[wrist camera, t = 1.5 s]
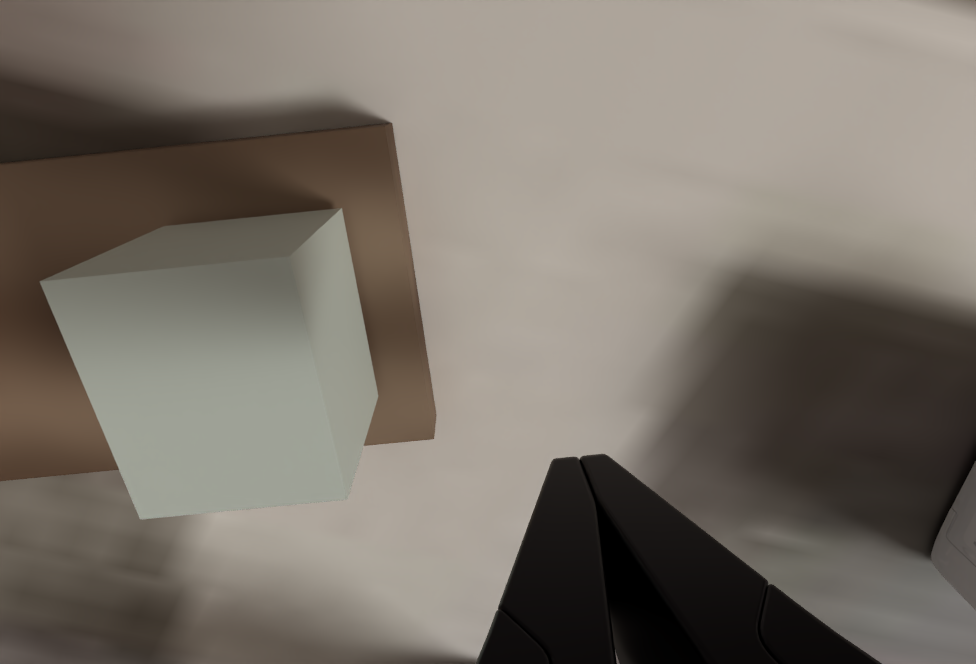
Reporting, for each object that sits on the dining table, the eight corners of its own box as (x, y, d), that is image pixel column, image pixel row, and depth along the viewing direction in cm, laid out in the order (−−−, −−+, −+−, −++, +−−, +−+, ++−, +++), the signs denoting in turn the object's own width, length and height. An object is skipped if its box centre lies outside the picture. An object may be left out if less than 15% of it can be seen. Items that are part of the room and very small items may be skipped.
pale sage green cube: (378, 395, 18) (347, 499, 14) (223, 411, 18) (140, 519, 14) (341, 208, 16) (289, 256, 11) (163, 226, 16) (40, 281, 11)
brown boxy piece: (436, 415, 21) (422, 548, 15) (-162, 473, 21) (-416, 628, 15) (391, 122, 17) (348, 141, 11) (-344, 198, 17) (-787, 258, 11)
